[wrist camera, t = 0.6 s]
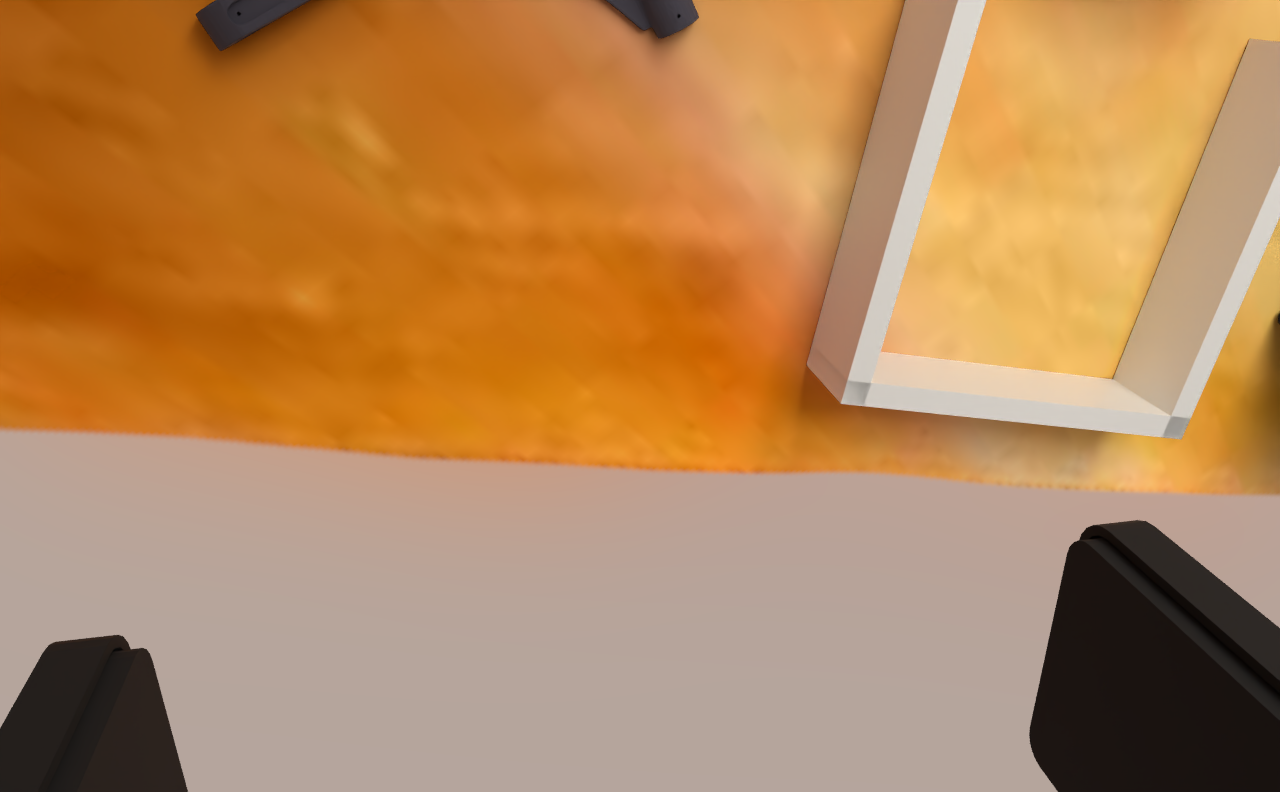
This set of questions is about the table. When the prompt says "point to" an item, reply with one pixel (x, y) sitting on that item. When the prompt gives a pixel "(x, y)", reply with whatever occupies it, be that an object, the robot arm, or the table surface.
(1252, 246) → the rail
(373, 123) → the table surface
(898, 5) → the table surface
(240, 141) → the table surface
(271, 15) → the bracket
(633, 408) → the table surface
